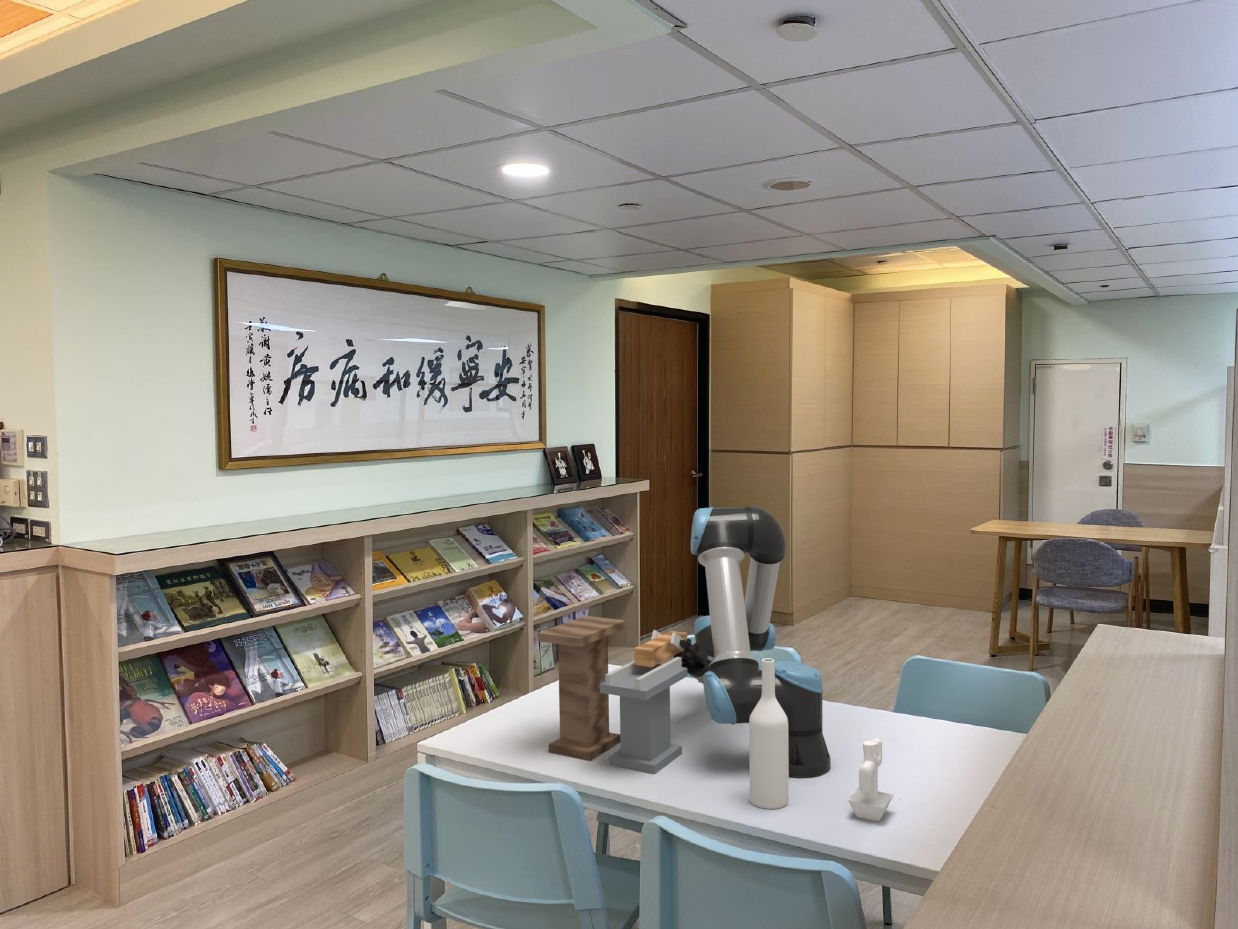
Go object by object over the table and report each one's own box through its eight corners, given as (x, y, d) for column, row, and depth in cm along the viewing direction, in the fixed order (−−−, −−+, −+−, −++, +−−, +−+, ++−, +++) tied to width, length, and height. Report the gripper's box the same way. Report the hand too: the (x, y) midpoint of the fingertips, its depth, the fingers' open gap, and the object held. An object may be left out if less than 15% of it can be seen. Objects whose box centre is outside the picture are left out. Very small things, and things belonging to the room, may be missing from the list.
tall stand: (587, 730, 235) (585, 615, 234) (627, 738, 229) (625, 620, 228) (540, 757, 217) (537, 633, 215) (582, 766, 211) (580, 638, 209)
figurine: (845, 820, 181) (845, 746, 180) (860, 803, 189) (859, 732, 188) (882, 828, 177) (882, 752, 176) (895, 810, 185) (895, 737, 184)
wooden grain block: (670, 646, 230) (670, 630, 230) (687, 648, 228) (687, 632, 228) (634, 664, 214) (634, 648, 214) (651, 667, 212) (651, 650, 212)
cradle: (644, 741, 227) (643, 652, 225) (688, 749, 221) (687, 658, 219) (601, 770, 208) (599, 673, 207) (647, 779, 202) (645, 680, 201)
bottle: (796, 803, 189) (796, 661, 187) (766, 813, 185) (765, 667, 183) (771, 790, 196) (770, 652, 194) (741, 799, 191) (740, 658, 190)
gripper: (726, 682, 234) (692, 656, 216) (665, 673, 243) (628, 647, 225) (732, 653, 237) (699, 625, 219) (671, 645, 246) (635, 618, 227)
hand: (663, 636), depth 222 cm, fingers closed on wooden grain block, 5 cm apart
